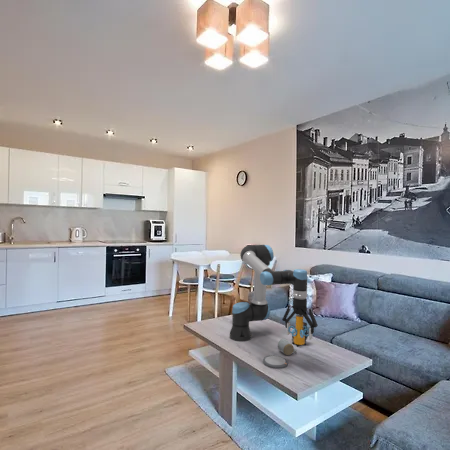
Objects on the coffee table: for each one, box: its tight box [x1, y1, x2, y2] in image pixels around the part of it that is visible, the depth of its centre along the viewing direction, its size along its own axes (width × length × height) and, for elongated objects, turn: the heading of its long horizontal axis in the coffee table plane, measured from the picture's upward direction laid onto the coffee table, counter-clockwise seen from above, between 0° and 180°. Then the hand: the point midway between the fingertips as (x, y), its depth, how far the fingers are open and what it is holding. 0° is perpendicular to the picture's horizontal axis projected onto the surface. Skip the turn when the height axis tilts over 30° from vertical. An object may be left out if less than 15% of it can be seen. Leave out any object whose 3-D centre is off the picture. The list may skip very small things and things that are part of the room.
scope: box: [290, 321, 309, 348], centre depth 201 cm, size 8×14×10 cm
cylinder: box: [288, 314, 309, 346], centre depth 169 cm, size 12×10×15 cm
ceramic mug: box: [277, 338, 297, 356], centre depth 187 cm, size 11×8×8 cm
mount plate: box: [262, 354, 289, 369], centre depth 173 cm, size 14×14×1 cm
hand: (299, 336), depth 169 cm, fingers closed on cylinder, 12 cm apart
